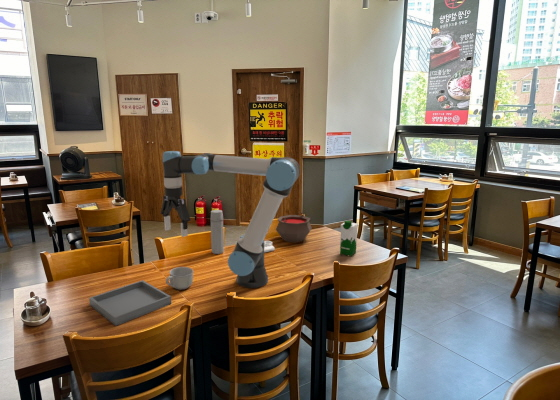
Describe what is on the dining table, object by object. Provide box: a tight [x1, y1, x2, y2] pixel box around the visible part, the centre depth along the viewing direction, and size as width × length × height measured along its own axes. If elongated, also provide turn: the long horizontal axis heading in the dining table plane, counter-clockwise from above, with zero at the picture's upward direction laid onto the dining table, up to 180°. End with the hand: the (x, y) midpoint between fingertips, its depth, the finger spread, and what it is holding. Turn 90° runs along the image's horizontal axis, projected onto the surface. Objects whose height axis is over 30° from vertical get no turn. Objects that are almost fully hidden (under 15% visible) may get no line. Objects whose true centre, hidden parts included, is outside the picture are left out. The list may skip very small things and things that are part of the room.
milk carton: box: [339, 220, 359, 257], centre depth 219 cm, size 9×9×20 cm
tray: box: [88, 279, 172, 327], centre depth 159 cm, size 24×24×4 cm
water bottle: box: [210, 209, 225, 255], centre depth 220 cm, size 9×8×25 cm
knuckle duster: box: [264, 240, 276, 253], centre depth 227 cm, size 3×18×15 cm
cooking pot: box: [275, 211, 312, 243], centre depth 245 cm, size 24×24×16 cm
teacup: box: [165, 266, 194, 291], centre depth 175 cm, size 14×11×8 cm
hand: (176, 233), depth 170 cm, fingers open, 13 cm apart
